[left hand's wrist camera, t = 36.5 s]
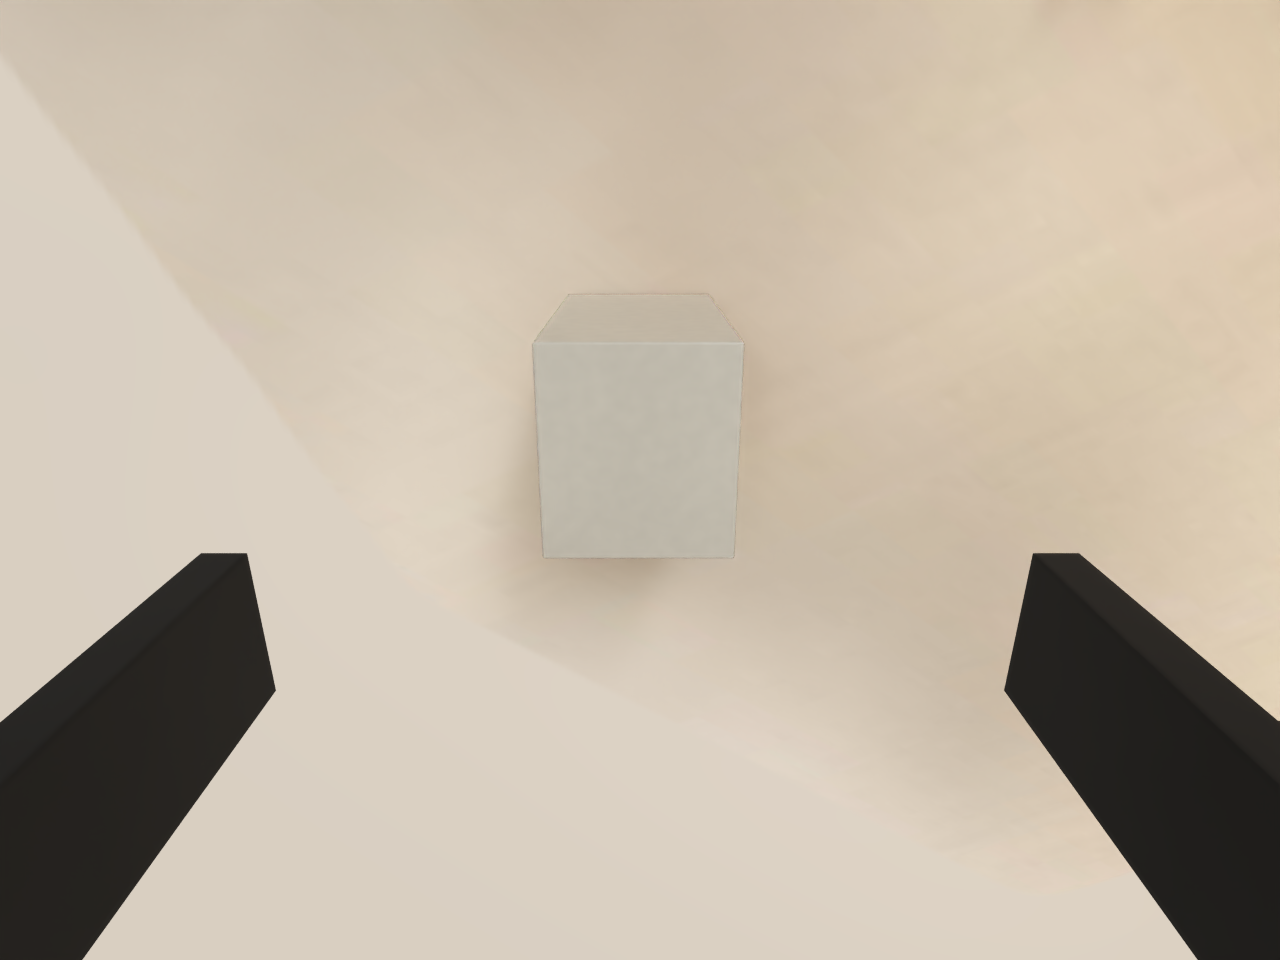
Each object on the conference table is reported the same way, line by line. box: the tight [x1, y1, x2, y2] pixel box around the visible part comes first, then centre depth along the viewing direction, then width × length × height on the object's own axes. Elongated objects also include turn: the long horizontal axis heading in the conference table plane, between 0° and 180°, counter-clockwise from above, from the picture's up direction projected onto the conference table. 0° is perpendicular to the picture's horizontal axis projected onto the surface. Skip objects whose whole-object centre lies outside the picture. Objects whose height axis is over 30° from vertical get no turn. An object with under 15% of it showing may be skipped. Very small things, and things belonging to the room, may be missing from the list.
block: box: [532, 294, 744, 558], centre depth 29 cm, size 6×7×12 cm
